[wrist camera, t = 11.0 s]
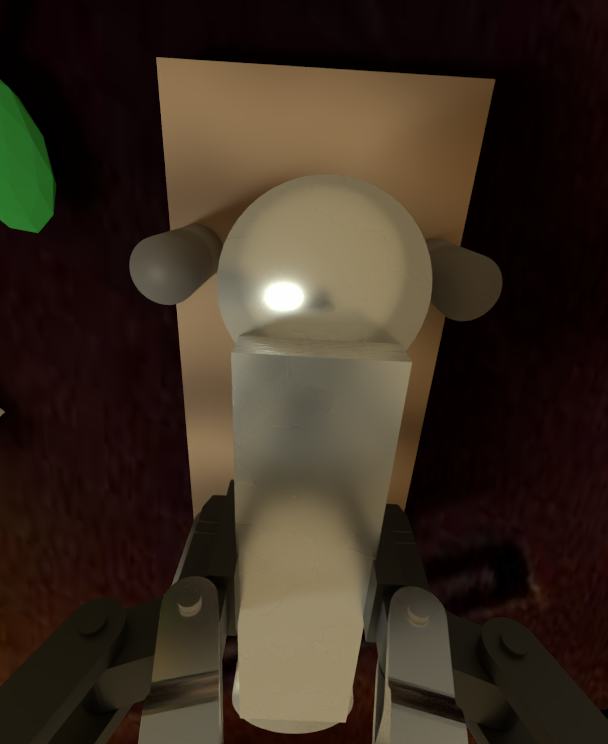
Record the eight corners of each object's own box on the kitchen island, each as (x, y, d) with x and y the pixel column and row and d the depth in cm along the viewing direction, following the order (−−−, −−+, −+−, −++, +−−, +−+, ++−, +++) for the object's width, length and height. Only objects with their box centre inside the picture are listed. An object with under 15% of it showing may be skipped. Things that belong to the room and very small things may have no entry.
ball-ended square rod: (418, 183, 10) (474, 180, 6) (342, 665, 18) (349, 770, 14) (235, 171, 9) (198, 163, 6) (242, 661, 18) (228, 765, 14)
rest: (380, 583, 25) (398, 681, 20) (206, 575, 25) (180, 672, 20) (477, 89, 14) (567, 36, 9) (171, 70, 14) (96, 5, 9)
